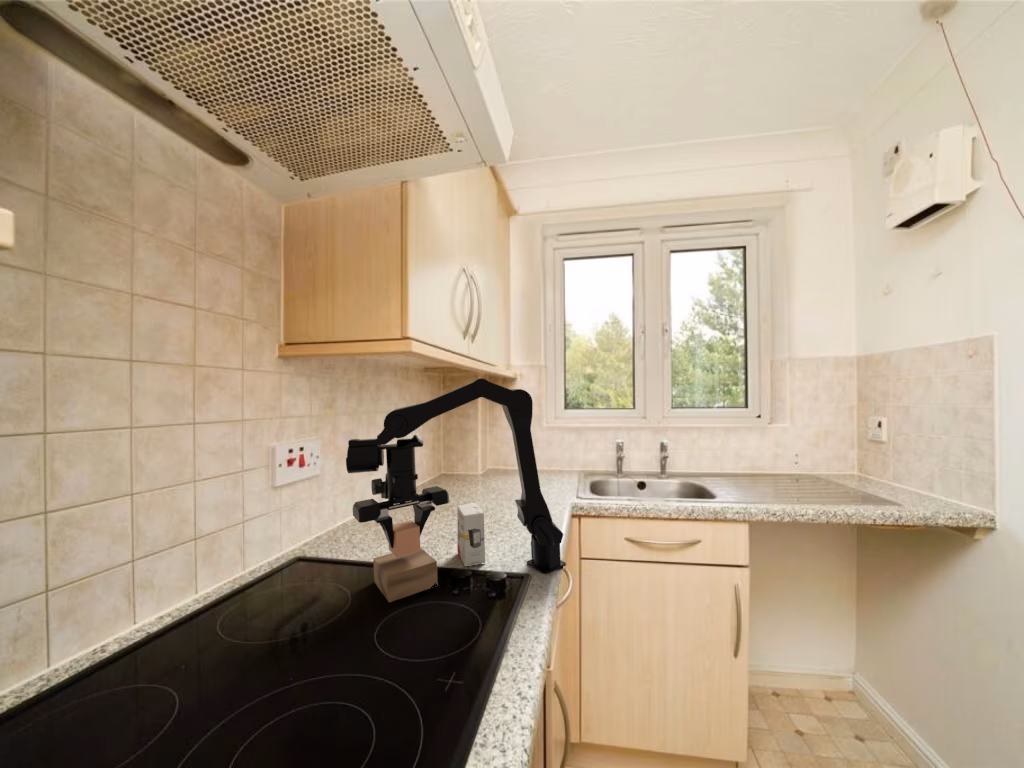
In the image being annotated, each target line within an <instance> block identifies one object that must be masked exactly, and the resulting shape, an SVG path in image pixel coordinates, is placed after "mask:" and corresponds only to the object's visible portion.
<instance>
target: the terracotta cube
mask: <svg viewBox="0 0 1024 768" xmlns="http://www.w3.org/2000/svg"><path fill="white" fill-rule="evenodd" d="M393 536H394V545H393V548H391V547H390V546H389V545H388V551H390V552H391V553H393V554H394V555H395V556H396V557H400V556H403V555H407V554H410V553H414V552H417V551H421V550H420V547H421V535H420V526H418V525H417V524H416V523H414V521H413V520H412V519H409V520H405V521H400V522H397V523H393Z"/></svg>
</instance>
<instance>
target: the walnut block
mask: <svg viewBox="0 0 1024 768" xmlns="http://www.w3.org/2000/svg"><path fill="white" fill-rule="evenodd" d="M420 550H421V551H417V552H414V553H410V554H407V555H403V556H400V557H396V556H395V555H394V554H393V553H392V552H391V553H389V554H387V553H386V554H384V555H381V556H378V557H374V558H373V582H374V584H375V585H376V586H377V589H379V590H380V593H381V594H382V595H383V597H384V598H385V599H386V601H387V602H388V603H392V602H395V601H398V600H400V599H403V598H406V597H410V596H412V595H416V594H417V593H421V592H424V591H427V590H429V589H432V588H433V587H432V586H433V585H434V584H435V583H436V584H437V586H436V587H438V585H439V582H438V579H439V578H438V561H437V560H436V559H435V558H434V557H432V556H431V555H430V554H429V553H428V552H426V551H425V550H424V549H423V548H422V546H420ZM431 587H432V588H431Z"/></svg>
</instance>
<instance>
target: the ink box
mask: <svg viewBox="0 0 1024 768" xmlns="http://www.w3.org/2000/svg"><path fill="white" fill-rule="evenodd" d="M456 512H457V553H458V556H459V559H460V560H461V562H462V564H463V565H464V567H465V566H469V567H472V566H471V565H475V566H478V565H477V564H481V565H483V564H482V563H485V564H486V550H485V548H486V545H485V544H486V543H485V513H484V511H483V510H482V509H481V507H480V506H479V505H478V503H476V502H475V503H474V502H473V503H465V504H460V505H457V511H456Z"/></svg>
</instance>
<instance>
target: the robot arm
mask: <svg viewBox="0 0 1024 768" xmlns="http://www.w3.org/2000/svg"><path fill="white" fill-rule="evenodd" d="M480 398H482V399H485V400H488V401H491V402H493V403H495V404H498V405H501V408H502V410H503V413H504V416H505V419H506V421H507V423H508V425H509V427H510V429H511V433H512V434H511V435H512V439H513V445H514V451H515V458H516V463H517V469H518V475H519V476H518V477H519V481H520V488H521V494H520V495H521V496H520V499H515V500H514V502H515V505H516V508H517V515H516V516H517V518H518V519H519V521H520V524H522V526H523V527H525V528H526V530H527V531H528V532H529V534H531V540H530V548H531V549H530V552H531V559H529V560H527V561H526V565H528V566H530V567H531V566H532V568H533V569H535V570H537V571H538V572H540V573H542V574H549V573H551V572H552V571H553V572H554V571H556V570H558V569H561V568H563V567H566V566H567V562H566V561H564V560H562V559H561V543H562V540H563V537H564V533H563V532H562V531H561V530H560V528H559V527H558V526H557V525H556V523H554V521H553V518H552V515H551V512H550V510H549V507H548V506H549V505H548V504H547V502H546V500H545V498H544V495H543V493H542V490H541V484H540V477H539V473H538V467H537V460H536V454H535V449H534V442H533V436H532V429H531V427H532V421H533V405H534V403H533V398H532V395H531V394H530V393H529V392H528V391H526V390H525V389H522V388H519V389H518V388H511V389H510V388H507V387H504V386H502V385H499V384H497V383H494V382H492V381H489V380H487V379H486V378H476V379H474V380H473V381H472V382H470V383H467V384H464V385H463V386H461V387H458V388H456V389H454V390H451V391H448V392H447V393H444V394H441V395H439V396H437V397H435V398H432V399H430V400H427V401H425V402H421V403H416V404H412V405H407V406H403V407H398V408H395V409H394V410H392V411H390V412H389V413H388V414H387V415H386V416H385V418H384V420H383V429H382V431H381V432H380V433H378V434H377V436H376V438H366V439H363V438H362V439H360V438H350V439H349V440H348V441H347V442H348V448H347V452H346V458H345V465H346V467H345V468H346V471H347V473H348V474H358V473H371V472H372V473H373V472H378V471H379V469H380V467H383V466H385V465H384V463H385V453H386V473H385V480H384V481H383V478H374V479H372V480H371V481H370V482H371V484H370V485H371V494H372V495H373V496H376V495H380V498H381V499H385V500H386V501H380V502H378V501H377V500H376V499H374V498H370V499H363V500H359V501H356V502H354V504H353V505H352V516H353V518H355V520H356V521H358V523H363V524H364V523H368V522H372V521H374V522H375V523H376V524H380V527H381V529H382V531H383V533H384V536H385V538H386V540H387V541H386V542H387V543H388V547H389V546H390V547H391V548H393V545H394V536H393V524H394V523H393V517H392V516H390V515H389V511H391V510H393V511H394V510H396V509H397V510H398V509H402V508H405V507H406V508H407V507H410V506H411V507H412V508H413V513H414V521H413V522H414V523H416V524H417V525H418V526H420V536H421V535H422V532H423V530H424V527H425V525H426V522H427V521H428V519H429V517H430V515H431V513H432V512H434V511H436V507H438V506H441V505H447V504H449V503H450V494H449V492H448V491H447V490H446V489H444V488H442V487H440V486H438V485H435V486H431V487H426V488H423V489H422V490H421V493H417V480H418V479H419V477H418V476H419V475H418V473H416V454H415V453H416V452H415V451H416V450H415V449H416V448H421V447H422V448H423V446H424V440H422V439H420V438H419V436H418V435H417V434H413V436H412V437H411V438H405V437H407V436H408V435H410V434H412V433H413V432H414V431H416V430H417V429H419V428H420V427H421V426H423V425H425V424H426V423H428V422H429V421H430V420H432V419H434V418H436V417H438V416H440V415H443V414H446V413H447V412H450V411H452V410H455V409H456V408H460V407H461V406H464V405H466V404H468V403H470V402H473V401H475V400H479V399H480ZM394 439H397V441H396V443H391V444H388V443H389V442H391V441H392V440H394ZM384 451H386V452H384ZM433 504H434V505H435V506H436V507H435V506H434V505H433Z"/></svg>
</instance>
